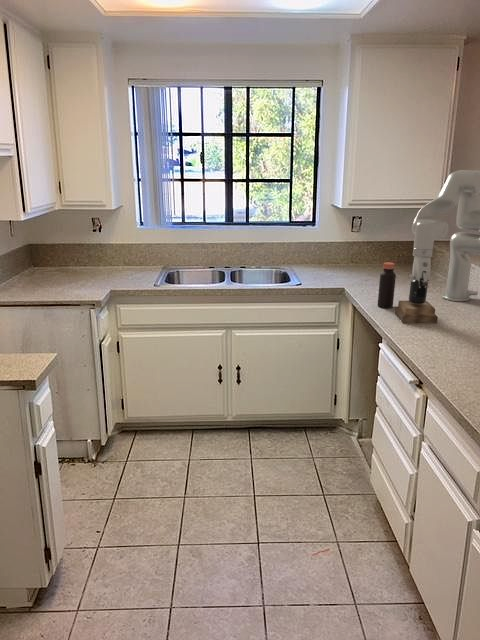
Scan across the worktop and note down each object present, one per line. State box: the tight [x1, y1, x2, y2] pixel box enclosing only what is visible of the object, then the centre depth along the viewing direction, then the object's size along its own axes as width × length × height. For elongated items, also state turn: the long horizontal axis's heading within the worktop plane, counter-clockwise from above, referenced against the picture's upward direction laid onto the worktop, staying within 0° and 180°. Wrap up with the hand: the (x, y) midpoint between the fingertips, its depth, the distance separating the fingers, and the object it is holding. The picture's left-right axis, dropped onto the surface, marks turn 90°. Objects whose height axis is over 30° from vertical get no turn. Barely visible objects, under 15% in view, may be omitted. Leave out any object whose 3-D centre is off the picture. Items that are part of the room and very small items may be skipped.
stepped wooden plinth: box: [394, 300, 438, 324], centre depth 219 cm, size 14×14×6 cm
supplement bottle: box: [408, 276, 429, 304], centre depth 216 cm, size 7×7×12 cm
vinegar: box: [377, 261, 397, 309], centre depth 234 cm, size 7×7×20 cm
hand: (418, 294), depth 217 cm, fingers closed on supplement bottle, 6 cm apart
